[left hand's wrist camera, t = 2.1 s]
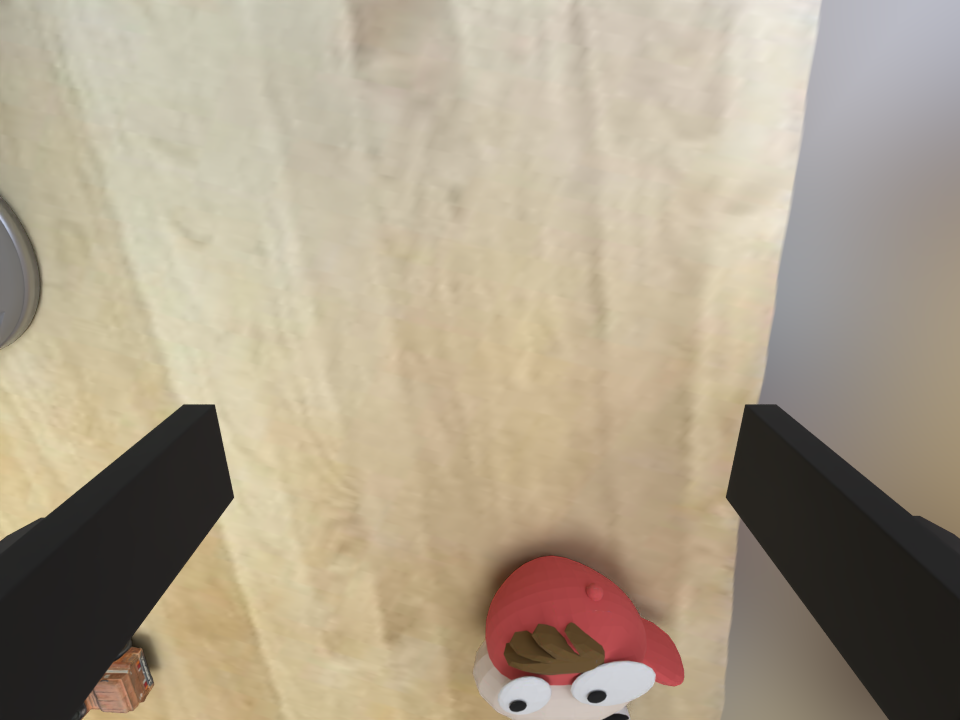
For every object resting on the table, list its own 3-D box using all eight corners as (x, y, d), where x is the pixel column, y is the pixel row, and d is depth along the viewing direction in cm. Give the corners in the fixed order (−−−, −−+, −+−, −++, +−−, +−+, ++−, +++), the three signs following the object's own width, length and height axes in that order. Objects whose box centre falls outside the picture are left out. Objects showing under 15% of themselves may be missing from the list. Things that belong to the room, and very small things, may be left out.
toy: (482, 854, 48) (475, 662, 34) (472, 735, 57) (465, 545, 43) (669, 828, 50) (736, 634, 36) (632, 716, 59) (674, 526, 45)
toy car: (168, 673, 51) (123, 747, 44) (54, 685, 51) (-8, 760, 45) (144, 625, 48) (93, 697, 42) (25, 638, 49) (-45, 711, 42)
